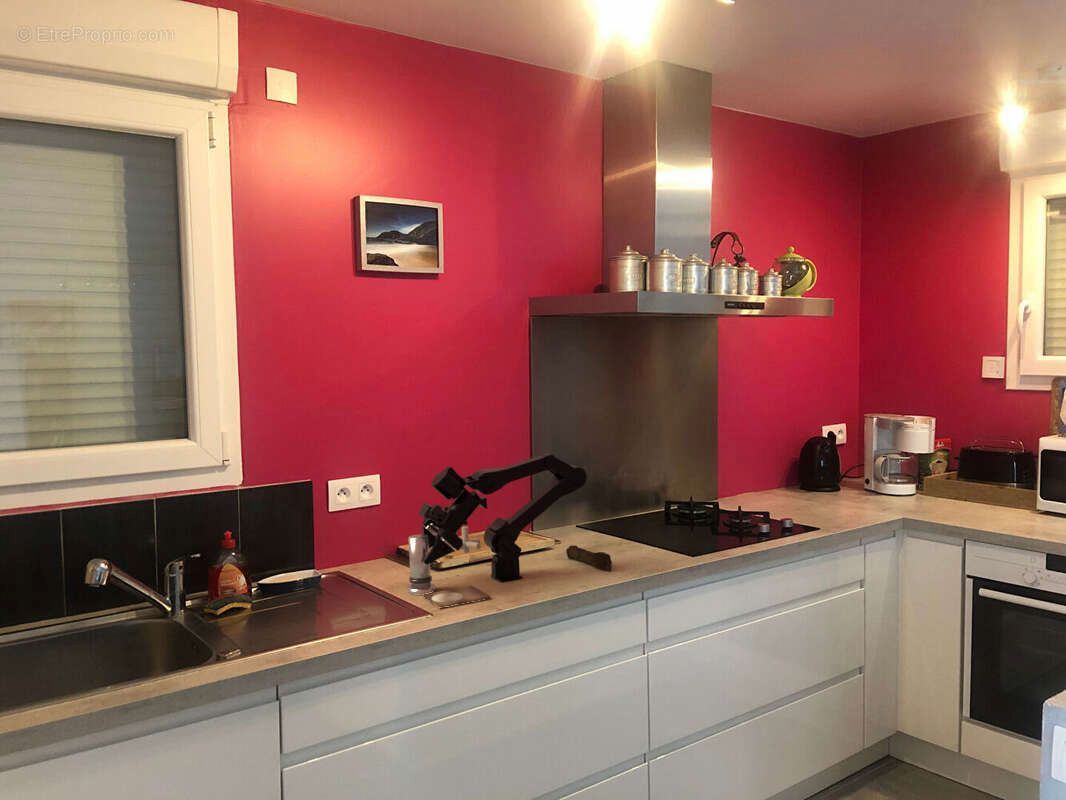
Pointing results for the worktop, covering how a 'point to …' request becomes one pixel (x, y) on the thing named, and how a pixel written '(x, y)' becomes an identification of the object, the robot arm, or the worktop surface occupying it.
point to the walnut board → (456, 596)
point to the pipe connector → (468, 541)
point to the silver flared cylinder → (419, 565)
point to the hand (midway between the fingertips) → (420, 559)
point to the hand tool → (590, 557)
